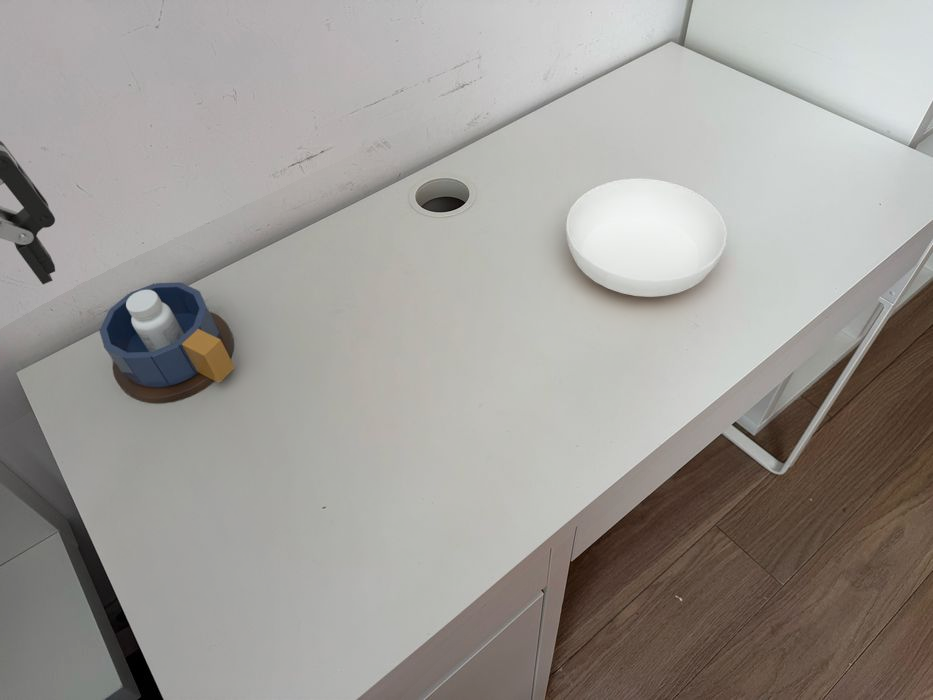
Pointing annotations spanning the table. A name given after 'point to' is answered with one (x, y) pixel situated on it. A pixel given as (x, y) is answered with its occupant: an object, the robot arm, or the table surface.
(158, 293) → the serving bowl
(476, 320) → the table surface
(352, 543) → the table surface
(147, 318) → the pill bottle
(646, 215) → the bowl
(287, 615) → the table surface
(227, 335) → the turntable
